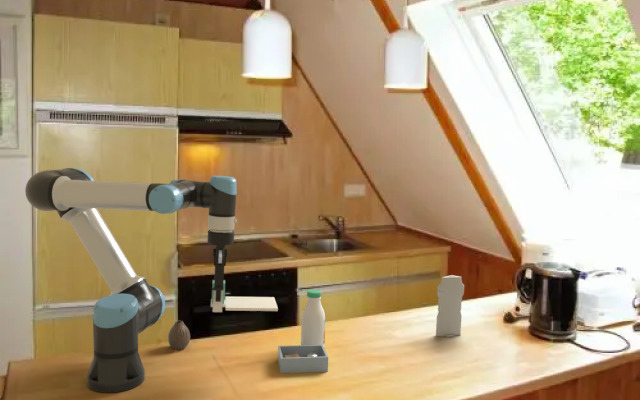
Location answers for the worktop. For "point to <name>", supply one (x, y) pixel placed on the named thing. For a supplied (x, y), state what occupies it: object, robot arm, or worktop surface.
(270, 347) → the worktop surface
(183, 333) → the vase
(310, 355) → the metal part
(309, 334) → the milk bottle
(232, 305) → the lid
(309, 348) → the tub
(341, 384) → the worktop surface
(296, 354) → the walnut part
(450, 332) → the tall pale column
